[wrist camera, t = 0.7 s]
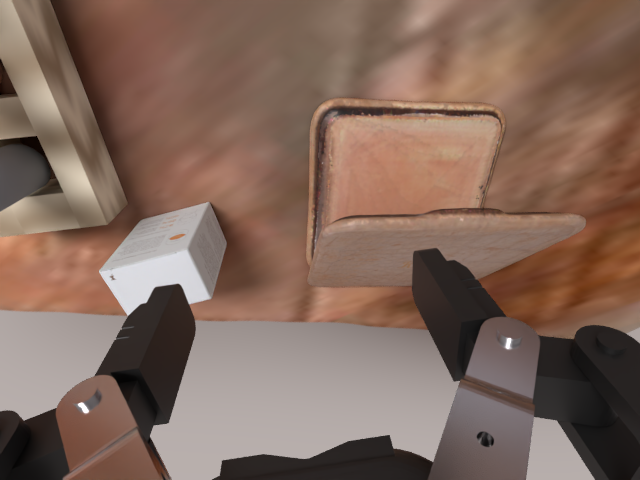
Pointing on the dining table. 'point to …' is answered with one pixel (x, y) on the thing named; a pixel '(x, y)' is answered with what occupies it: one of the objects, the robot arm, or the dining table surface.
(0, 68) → the plug mid
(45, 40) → the socket block
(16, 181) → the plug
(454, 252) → the case
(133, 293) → the small box
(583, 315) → the dining table surface
